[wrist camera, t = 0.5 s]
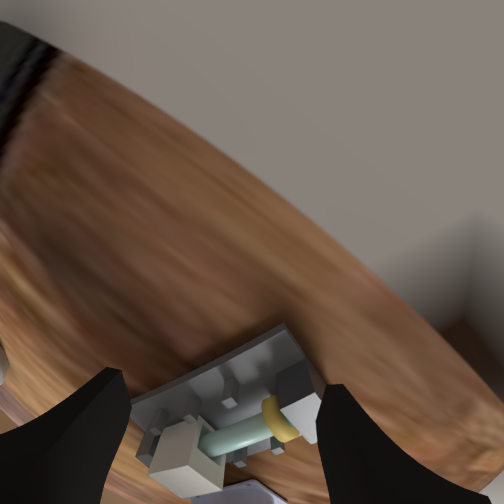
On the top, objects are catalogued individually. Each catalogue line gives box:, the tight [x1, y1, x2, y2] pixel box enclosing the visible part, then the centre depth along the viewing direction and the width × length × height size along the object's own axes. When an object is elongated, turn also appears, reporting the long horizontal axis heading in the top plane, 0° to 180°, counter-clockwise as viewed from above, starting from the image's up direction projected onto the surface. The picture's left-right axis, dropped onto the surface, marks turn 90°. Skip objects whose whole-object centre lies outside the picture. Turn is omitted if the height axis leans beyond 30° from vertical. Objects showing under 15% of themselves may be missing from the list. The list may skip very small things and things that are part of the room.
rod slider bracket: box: [130, 322, 326, 468], centre depth 19 cm, size 16×10×5 cm, turn 123°
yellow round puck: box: [261, 394, 300, 442], centre depth 18 cm, size 1×4×4 cm, turn 33°
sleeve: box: [147, 415, 226, 498], centre depth 18 cm, size 4×4×5 cm
